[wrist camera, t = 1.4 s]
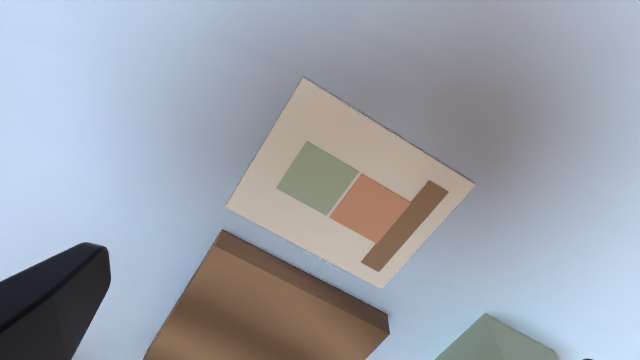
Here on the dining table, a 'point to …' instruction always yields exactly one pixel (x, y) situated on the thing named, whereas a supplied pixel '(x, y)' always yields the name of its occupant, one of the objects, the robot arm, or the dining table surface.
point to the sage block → (495, 344)
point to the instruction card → (346, 187)
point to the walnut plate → (264, 313)
